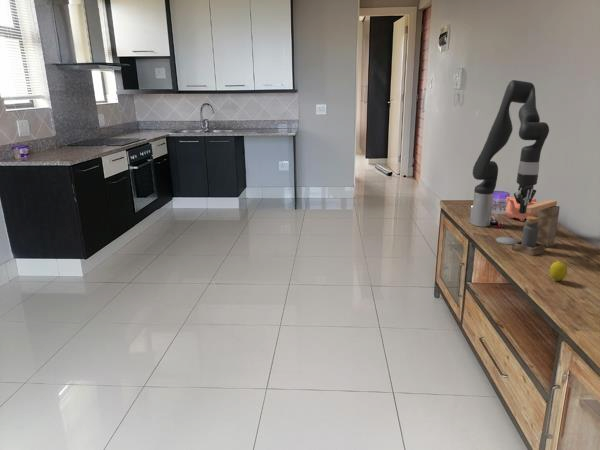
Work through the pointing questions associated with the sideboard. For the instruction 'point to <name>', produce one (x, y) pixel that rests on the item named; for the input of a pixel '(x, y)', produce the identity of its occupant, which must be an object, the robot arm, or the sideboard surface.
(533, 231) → the bottle
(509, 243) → the mat
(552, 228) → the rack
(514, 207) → the teapot
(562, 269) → the lemon
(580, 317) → the sideboard surface
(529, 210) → the bar
